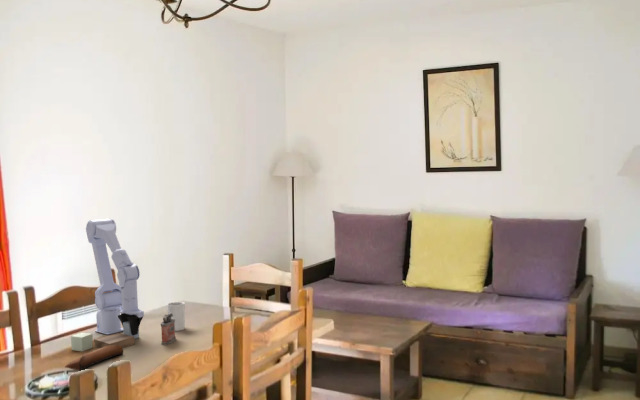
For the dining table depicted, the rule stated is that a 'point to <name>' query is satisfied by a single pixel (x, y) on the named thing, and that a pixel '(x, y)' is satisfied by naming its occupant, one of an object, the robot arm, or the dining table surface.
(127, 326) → the blue block
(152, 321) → the dining table surface
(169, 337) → the lighter
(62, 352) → the dining table surface
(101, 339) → the walnut block
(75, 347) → the sage cube
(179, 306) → the white cup
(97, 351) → the brown tapered cylinder
